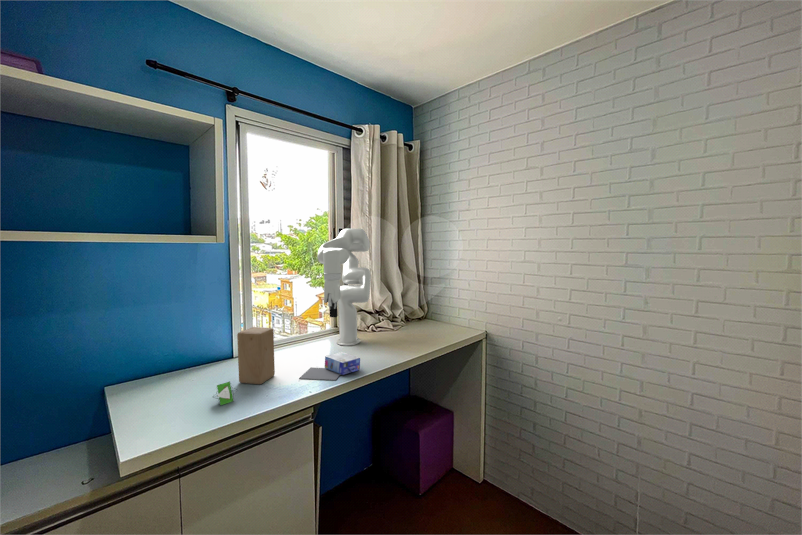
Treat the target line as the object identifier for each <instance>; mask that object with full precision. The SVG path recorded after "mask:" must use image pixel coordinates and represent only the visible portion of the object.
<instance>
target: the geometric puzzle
mask: <svg viewBox="0 0 802 535" xmlns="http://www.w3.org/2000/svg"><path fill="white" fill-rule="evenodd" d="M232 386H233V385H232V383H231V381H226V382H224V383H221V384H220V383H219V384H217V385H216V389H217V394H216V395H214V396H212V398H213V399H215V398H216V399H217V400H218V401H217V402H218V404H219V406H223V405H226V404H229V403H232V402H234V400H235V399H234V395H235V393H234V391H235V392H236V391H238V390H239V389H238V388H236V387H234V388H233V387H232ZM234 389H235V390H234ZM235 397H236V395H235Z"/></svg>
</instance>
